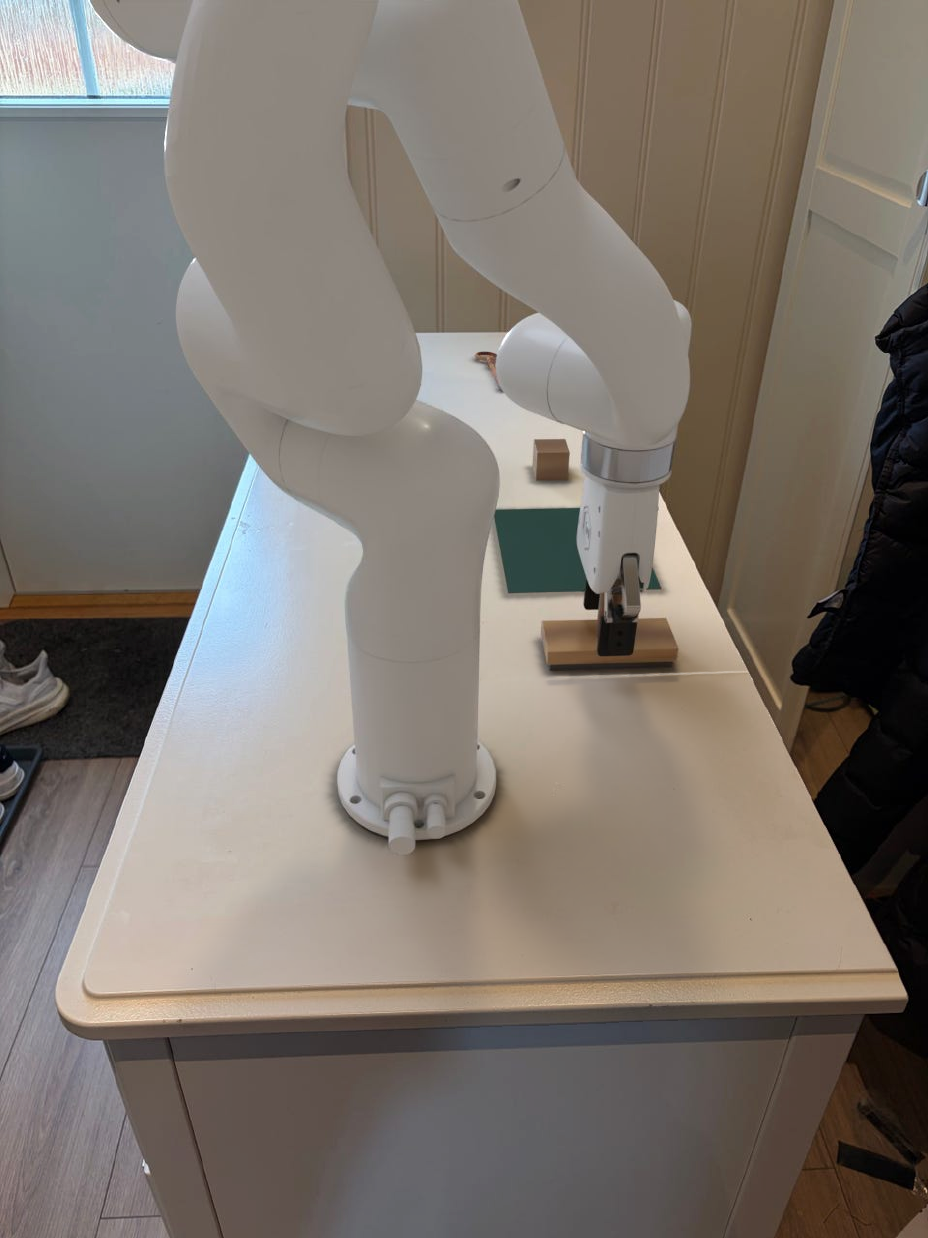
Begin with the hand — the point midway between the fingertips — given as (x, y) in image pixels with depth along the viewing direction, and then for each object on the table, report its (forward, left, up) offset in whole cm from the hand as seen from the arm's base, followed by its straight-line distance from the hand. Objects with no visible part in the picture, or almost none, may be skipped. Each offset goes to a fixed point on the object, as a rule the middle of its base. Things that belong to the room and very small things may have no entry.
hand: (607, 629), depth 91 cm
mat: (+20, 0, -3) cm, 20 cm away
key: (+74, +3, -3) cm, 74 cm away
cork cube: (+38, 0, -3) cm, 39 cm away
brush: (0, 0, -3) cm, 3 cm away
